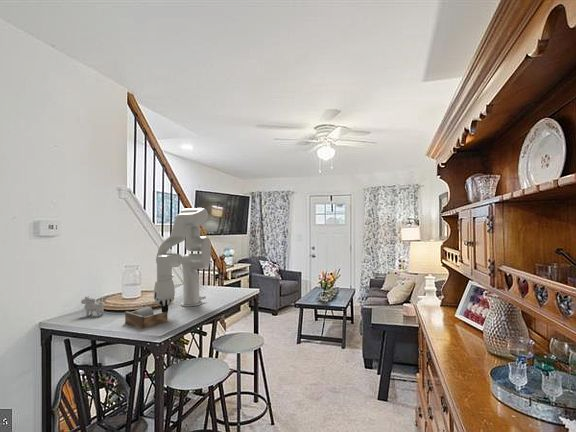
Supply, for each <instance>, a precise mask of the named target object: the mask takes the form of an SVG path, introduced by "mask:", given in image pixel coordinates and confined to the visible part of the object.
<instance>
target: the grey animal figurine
mask: <svg viewBox="0 0 576 432" xmlns="http://www.w3.org/2000/svg"><path fill="white" fill-rule="evenodd" d="M80 303H81V304H82V305H84V306H83V307H84V310H85V313H86V314H85V317H90V315H93V314H94V312H96V317H98V318H99V316H102V315H103V316H104V310H105V309H104V308H105V303H103V302H102V301H98V302H97V301H96V299H95V298H92V296H90V295H88V296H84V299H83V298H82V299H81V300H80ZM89 314H90V315H89Z"/></svg>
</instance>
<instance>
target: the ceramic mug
mask: <svg viewBox="0 0 576 432" xmlns="http://www.w3.org/2000/svg"><path fill="white" fill-rule="evenodd" d="M132 312H133V311H132ZM133 313H135V314H138V315H141V316H144V317H146V316H150V315H155V313H154V309H153V308H152V306H145V307H143V308H139V309H136V310H134V312H133Z"/></svg>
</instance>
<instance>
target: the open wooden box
mask: <svg viewBox="0 0 576 432" xmlns="http://www.w3.org/2000/svg"><path fill="white" fill-rule="evenodd" d="M134 311H135V310H134ZM134 311H127V310H126V311H125V312H124V315H125V317H124V321H125V324H127V325H130V326H133V327H135V328H138V329H146V328H149V327H153V326H154V327H155V326H157V325H161V324H165V323H166V324H167V323H168V313H167V312H163V313H162V312H160V313H154V315H150V316H146V317H144V316H141V315H138V314H135V313H133V312H134ZM145 327H146V328H145Z"/></svg>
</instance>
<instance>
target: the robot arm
mask: <svg viewBox="0 0 576 432" xmlns="http://www.w3.org/2000/svg"><path fill="white" fill-rule="evenodd" d="M208 217H209V212H208V211H207V209H206V208H204V207H203V208H202V207H197V208H196V207H195V208H192V207H191V208H183V209H182V210H180V213H177V214H176V216H175V219H174V222H173V225H172V228H171V229H172V230H171V233H170V235H169V236H168V237H167V238H166V239H165V240H164V241H163V242H162V243H161V244H160V246H159V247H158V250H157V253H156V256H155V263H156V281H155V282H154V289H153V299H154V303H155V304H159V305H160V306H161V313H163V312H167V314H168V313H169V305H170V303H171V302H172V301H174V300H175V295H176V294H175V293H176V292H175V283H174V280H173V278H174V274H173V268H177V267H180V266H181V267H182V275H183V276H182V278H183V279H182V280H183V281H182V284H183V288H182V289H183V293H182V294H183V295H182V296H183V301H182V302H181V303H180V306H182V307H185V308H187V307H196V306H201V305H202V304H203V302H202V301H203V300H206V298H207V296H206V295H203V296H201V295H200V274H199V272H198V271H197V270H205V269H208V268H209V267H210V265H211V256H212V255H211V254H212V252H211V251H212V241H211V238H210V237H209V236H205V235H204V236H201V228H200V226H201V225H202V224H204V223H205V222H206V221H207V220H208ZM184 241H185V249H186V251H187V252H200V253H186V254H184V255H181V254H180V253H174V252H173V253H170V252H169V253H168V251H169V250H170V249H171V248H173V247H174V246H176V245H178V244H180V243H182V242H184Z"/></svg>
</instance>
